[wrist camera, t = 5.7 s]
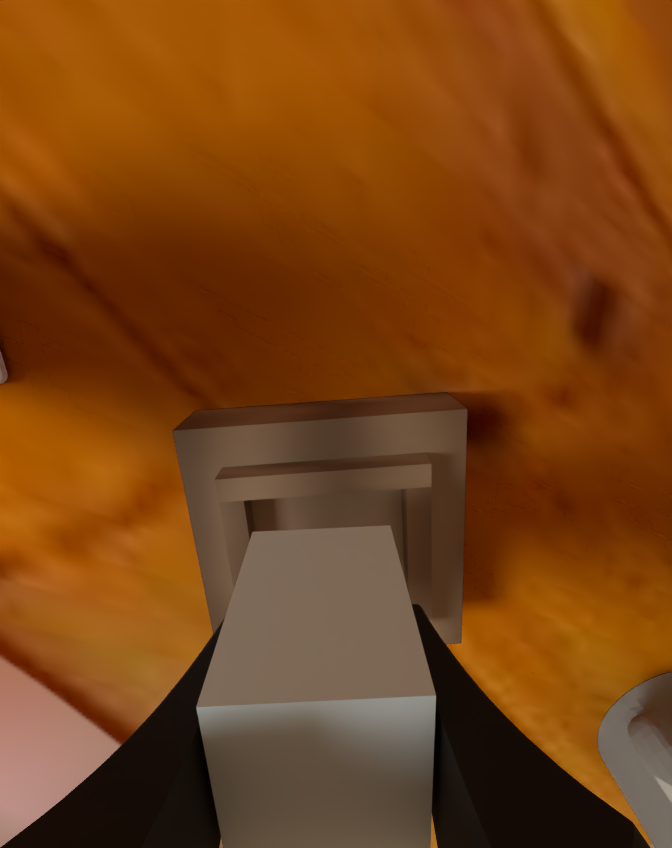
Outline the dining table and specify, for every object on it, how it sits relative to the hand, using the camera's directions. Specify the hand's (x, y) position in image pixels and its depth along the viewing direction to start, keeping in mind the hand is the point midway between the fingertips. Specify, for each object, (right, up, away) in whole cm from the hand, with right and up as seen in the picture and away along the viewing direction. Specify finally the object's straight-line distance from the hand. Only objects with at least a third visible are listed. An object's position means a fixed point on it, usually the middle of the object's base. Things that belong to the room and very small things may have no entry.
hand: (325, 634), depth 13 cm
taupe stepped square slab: (0, +2, +9) cm, 9 cm away
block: (0, +1, +2) cm, 2 cm away
